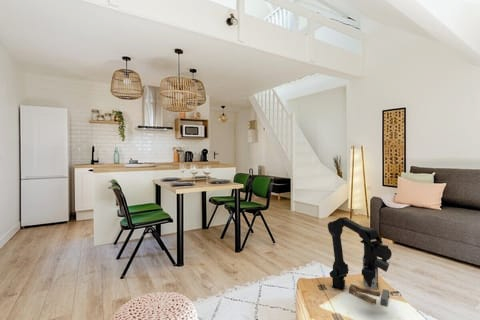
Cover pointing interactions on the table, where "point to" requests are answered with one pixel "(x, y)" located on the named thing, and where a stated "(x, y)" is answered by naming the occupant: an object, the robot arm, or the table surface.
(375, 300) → the bar
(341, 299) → the table surface
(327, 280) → the table surface
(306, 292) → the table surface
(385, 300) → the grey bracket bar
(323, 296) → the table surface
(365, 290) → the base
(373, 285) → the coffee box
